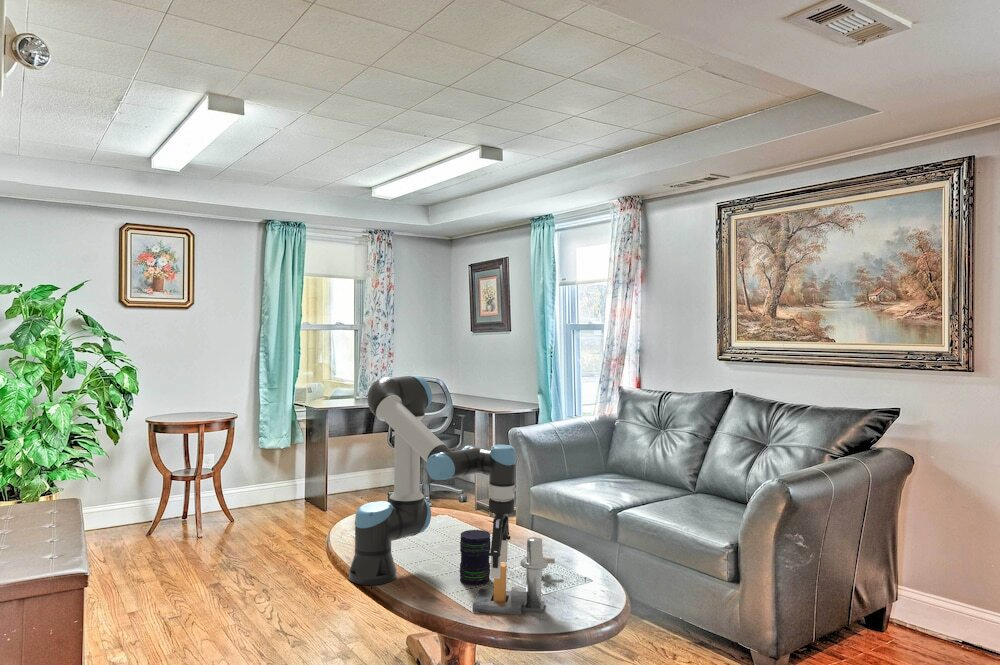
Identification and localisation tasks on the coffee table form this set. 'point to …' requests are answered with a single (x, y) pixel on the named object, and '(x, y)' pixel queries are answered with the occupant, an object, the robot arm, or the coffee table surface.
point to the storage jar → (475, 557)
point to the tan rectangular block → (500, 585)
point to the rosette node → (519, 596)
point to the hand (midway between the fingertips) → (499, 569)
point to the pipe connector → (547, 559)
